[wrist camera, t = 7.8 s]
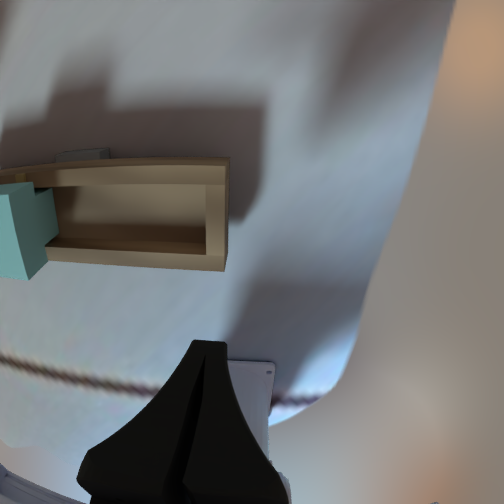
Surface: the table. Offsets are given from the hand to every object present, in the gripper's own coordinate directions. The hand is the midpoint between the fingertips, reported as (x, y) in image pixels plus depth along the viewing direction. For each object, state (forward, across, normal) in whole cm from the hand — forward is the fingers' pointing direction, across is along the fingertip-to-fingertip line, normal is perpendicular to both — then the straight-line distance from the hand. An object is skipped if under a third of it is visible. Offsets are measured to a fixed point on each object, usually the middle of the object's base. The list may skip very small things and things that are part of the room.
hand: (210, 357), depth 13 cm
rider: (+8, +14, -3) cm, 16 cm away
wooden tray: (+10, +10, -3) cm, 15 cm away
